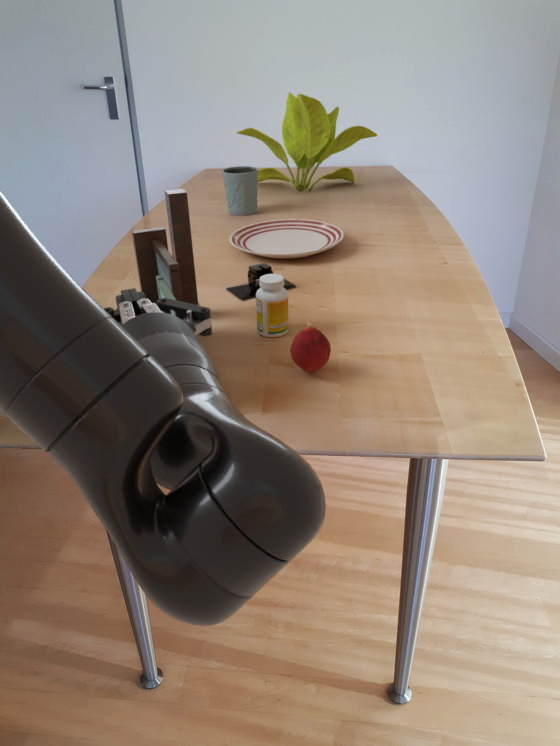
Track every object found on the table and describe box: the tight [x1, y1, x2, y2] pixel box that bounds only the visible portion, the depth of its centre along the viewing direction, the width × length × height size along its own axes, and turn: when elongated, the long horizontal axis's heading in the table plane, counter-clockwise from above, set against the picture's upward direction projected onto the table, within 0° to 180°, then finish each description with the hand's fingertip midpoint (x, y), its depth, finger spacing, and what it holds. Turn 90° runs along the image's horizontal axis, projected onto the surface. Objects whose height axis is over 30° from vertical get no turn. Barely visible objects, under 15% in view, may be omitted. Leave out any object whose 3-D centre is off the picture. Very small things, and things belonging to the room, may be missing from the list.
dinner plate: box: [229, 218, 345, 260], centre depth 131 cm, size 27×27×3 cm
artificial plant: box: [236, 91, 378, 192], centre depth 181 cm, size 42×43×30 cm
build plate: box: [225, 262, 297, 301], centre depth 109 cm, size 12×7×5 cm, turn 121°
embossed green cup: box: [221, 165, 259, 217], centre depth 158 cm, size 10×10×12 cm
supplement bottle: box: [255, 273, 289, 338], centre depth 91 cm, size 5×5×10 cm
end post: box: [164, 188, 202, 306], centre depth 93 cm, size 5×5×22 cm
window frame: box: [130, 226, 182, 303], centre depth 79 cm, size 8×29×18 cm, turn 22°
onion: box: [289, 322, 332, 374], centre depth 79 cm, size 6×6×8 cm
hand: (129, 298), depth 56 cm, fingers closed
